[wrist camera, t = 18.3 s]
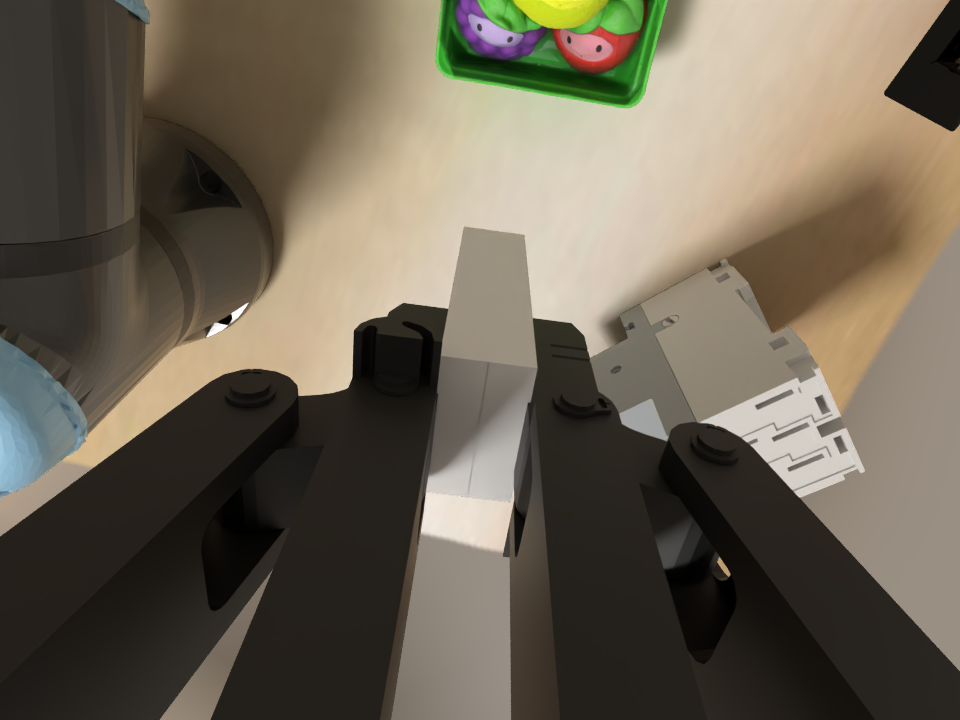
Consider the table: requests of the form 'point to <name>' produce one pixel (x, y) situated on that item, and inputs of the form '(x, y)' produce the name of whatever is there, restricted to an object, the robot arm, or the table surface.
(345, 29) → the table surface
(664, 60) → the table surface
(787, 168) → the table surface
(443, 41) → the fruit basket
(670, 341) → the circuit breaker
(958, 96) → the black stepped block
